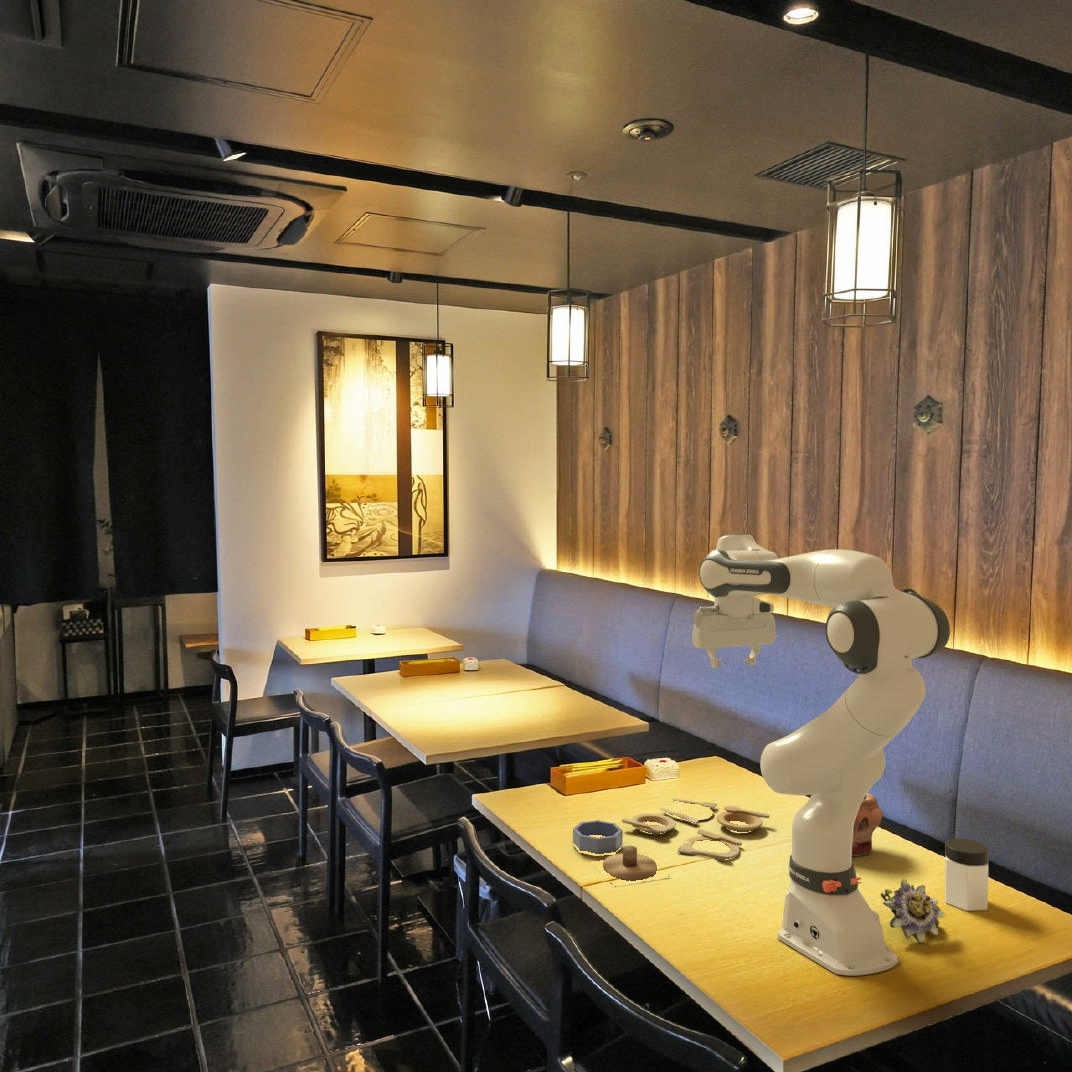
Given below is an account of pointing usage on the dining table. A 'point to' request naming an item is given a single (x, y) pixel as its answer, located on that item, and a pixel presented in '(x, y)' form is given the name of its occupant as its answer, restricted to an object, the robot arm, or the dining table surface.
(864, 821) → the decorative planter
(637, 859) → the lid
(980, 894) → the jar
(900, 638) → the robot arm
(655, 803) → the dining table surface
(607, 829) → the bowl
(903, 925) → the passion flower
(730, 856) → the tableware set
